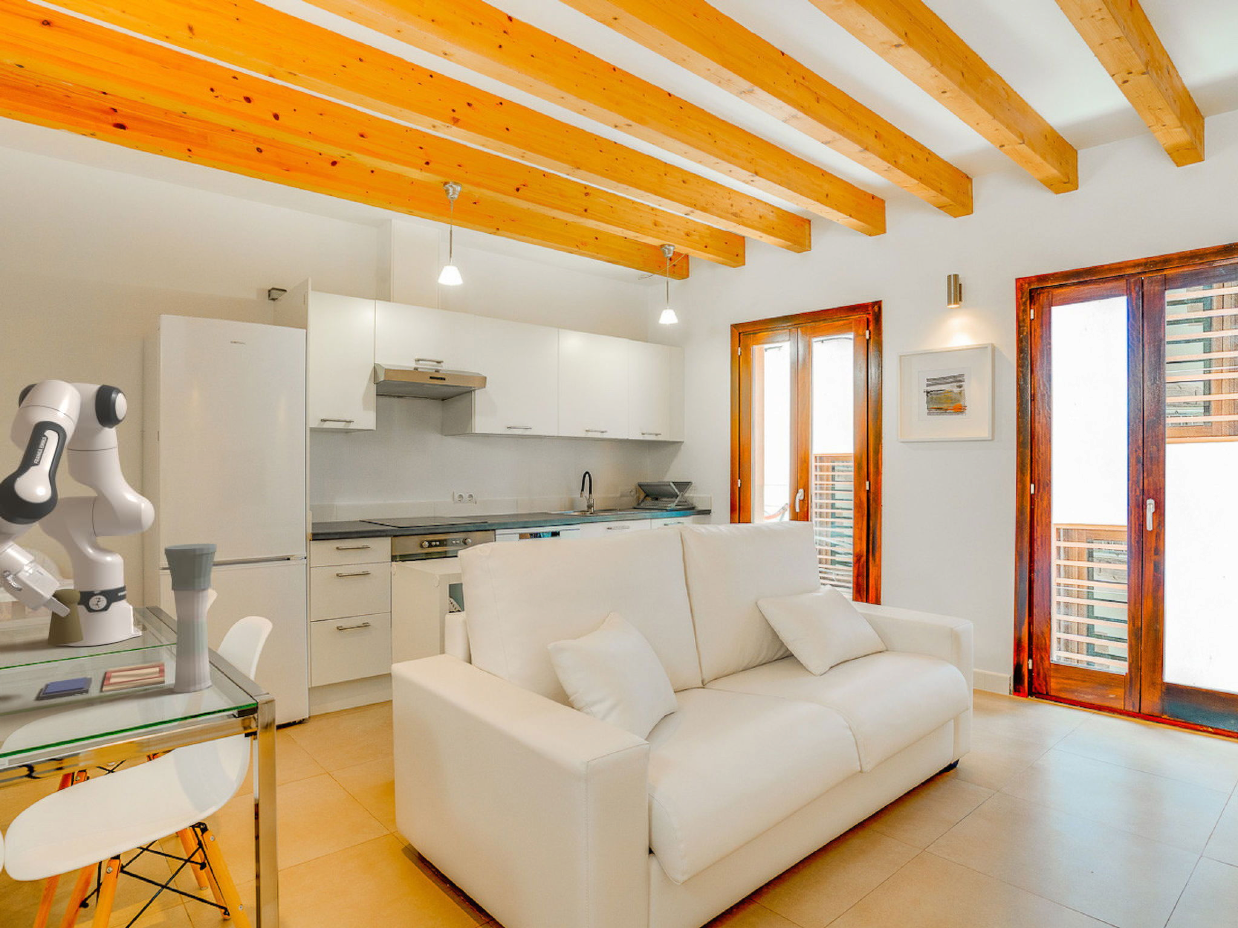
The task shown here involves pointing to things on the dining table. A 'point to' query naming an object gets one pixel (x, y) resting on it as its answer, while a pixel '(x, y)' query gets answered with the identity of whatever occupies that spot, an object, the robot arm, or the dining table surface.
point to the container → (191, 613)
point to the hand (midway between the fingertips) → (68, 611)
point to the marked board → (134, 676)
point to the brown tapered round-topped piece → (66, 619)
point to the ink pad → (65, 688)
